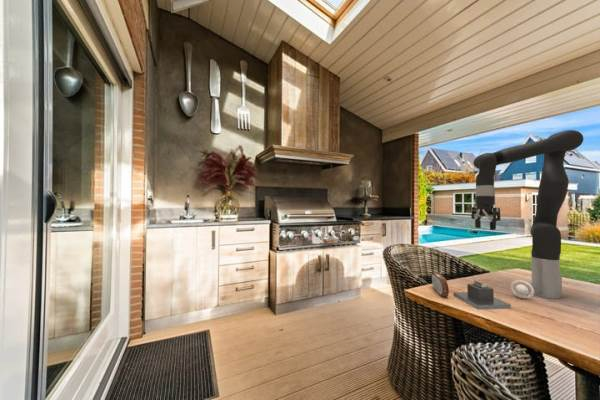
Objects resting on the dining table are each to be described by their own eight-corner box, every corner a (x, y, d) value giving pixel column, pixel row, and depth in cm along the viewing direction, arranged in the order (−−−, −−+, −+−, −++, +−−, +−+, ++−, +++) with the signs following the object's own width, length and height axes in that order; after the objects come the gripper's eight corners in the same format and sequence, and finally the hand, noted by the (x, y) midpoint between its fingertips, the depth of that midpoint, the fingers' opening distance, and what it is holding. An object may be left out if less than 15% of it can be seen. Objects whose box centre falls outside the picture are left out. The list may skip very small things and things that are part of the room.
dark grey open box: (479, 301, 102) (478, 288, 102) (467, 295, 108) (467, 283, 108) (493, 300, 102) (493, 288, 102) (481, 295, 108) (481, 283, 108)
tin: (449, 299, 107) (449, 280, 108) (441, 298, 108) (441, 279, 108) (437, 287, 122) (437, 270, 122) (430, 287, 123) (430, 270, 123)
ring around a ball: (535, 300, 107) (535, 281, 107) (531, 303, 103) (531, 284, 103) (511, 294, 113) (511, 277, 113) (507, 297, 110) (507, 279, 110)
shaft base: (482, 295, 112) (482, 276, 112) (510, 308, 98) (510, 286, 98) (453, 295, 111) (453, 276, 111) (477, 309, 97) (477, 287, 98)
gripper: (466, 195, 124) (466, 227, 124) (490, 194, 110) (490, 230, 110) (480, 195, 125) (480, 227, 124) (505, 194, 110) (505, 230, 110)
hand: (485, 228), depth 117 cm, fingers open, 8 cm apart
